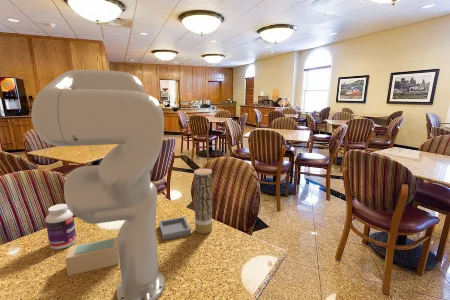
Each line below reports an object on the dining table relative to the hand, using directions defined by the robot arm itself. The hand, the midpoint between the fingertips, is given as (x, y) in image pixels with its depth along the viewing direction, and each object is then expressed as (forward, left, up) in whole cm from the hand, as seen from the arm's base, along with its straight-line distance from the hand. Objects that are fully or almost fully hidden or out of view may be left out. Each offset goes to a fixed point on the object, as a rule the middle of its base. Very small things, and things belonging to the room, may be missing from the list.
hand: (139, 201), depth 83 cm
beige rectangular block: (-8, +15, -16) cm, 23 cm away
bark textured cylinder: (-2, -23, -16) cm, 28 cm away
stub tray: (+2, -12, -16) cm, 20 cm away
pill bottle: (+8, +27, -16) cm, 32 cm away
